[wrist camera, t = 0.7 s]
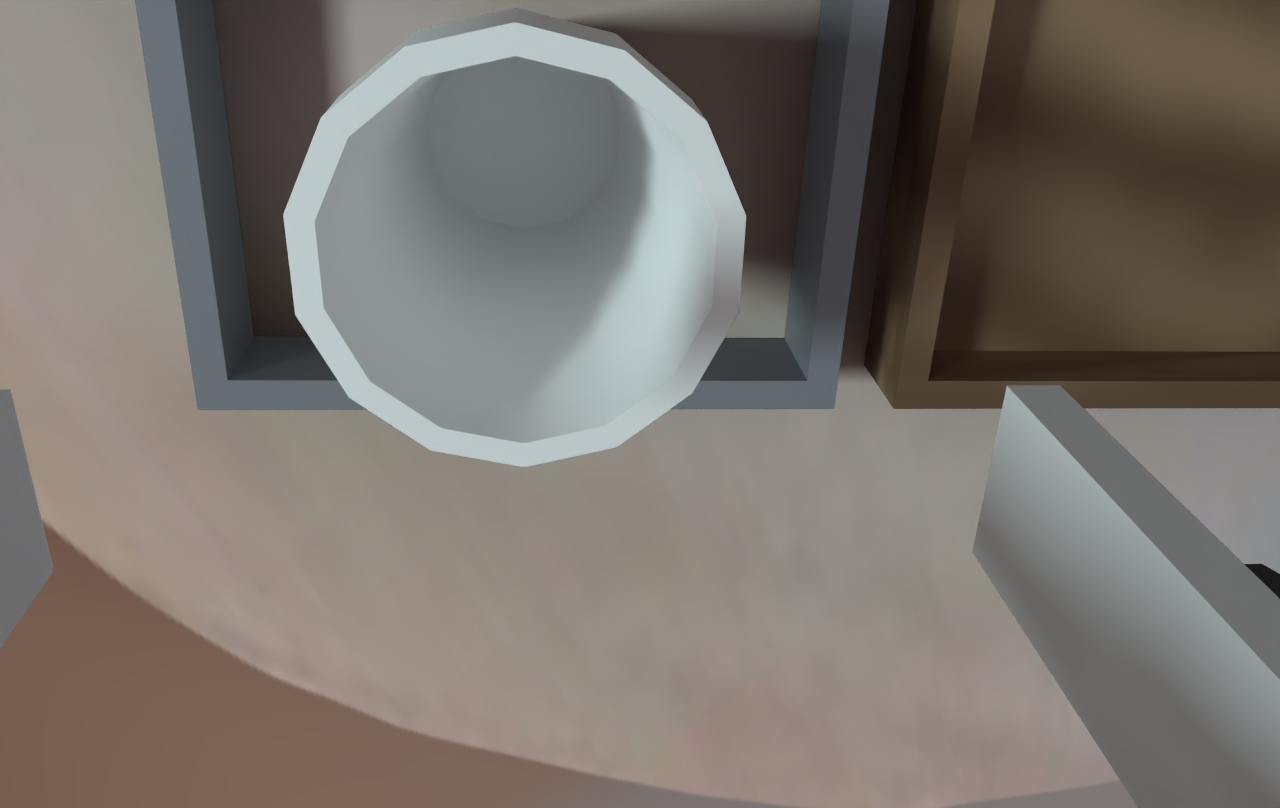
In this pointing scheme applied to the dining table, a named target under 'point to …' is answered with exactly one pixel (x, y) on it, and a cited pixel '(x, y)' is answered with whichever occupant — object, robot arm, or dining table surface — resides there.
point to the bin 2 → (1084, 206)
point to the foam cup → (515, 240)
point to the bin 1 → (292, 365)
